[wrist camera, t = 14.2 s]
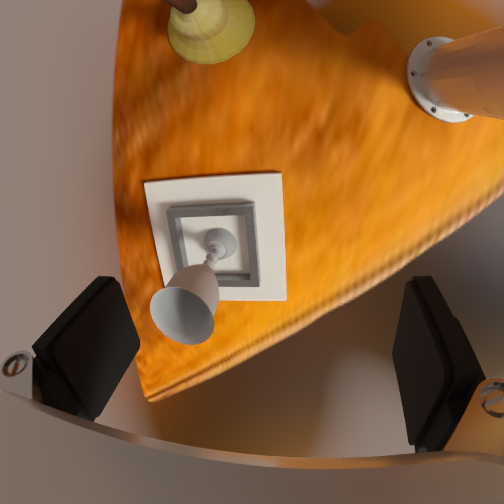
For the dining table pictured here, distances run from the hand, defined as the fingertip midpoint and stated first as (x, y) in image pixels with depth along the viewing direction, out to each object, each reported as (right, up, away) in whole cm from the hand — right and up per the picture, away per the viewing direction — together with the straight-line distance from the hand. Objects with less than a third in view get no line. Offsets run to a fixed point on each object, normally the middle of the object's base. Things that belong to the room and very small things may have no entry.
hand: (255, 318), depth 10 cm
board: (-5, +4, +39) cm, 39 cm away
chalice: (-5, +3, +38) cm, 38 cm away
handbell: (-6, +33, +25) cm, 41 cm away
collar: (-5, +4, +39) cm, 39 cm away
